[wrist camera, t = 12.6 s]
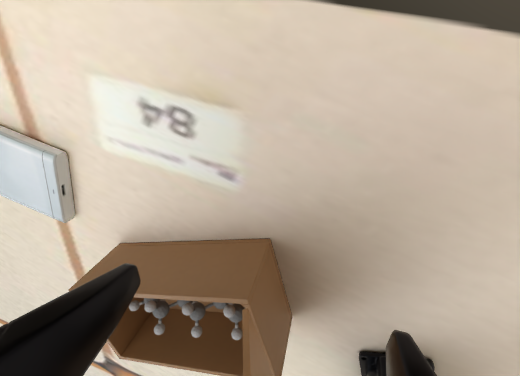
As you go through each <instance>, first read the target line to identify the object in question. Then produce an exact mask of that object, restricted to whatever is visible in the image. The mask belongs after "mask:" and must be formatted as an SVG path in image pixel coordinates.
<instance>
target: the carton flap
mask: <svg viewBox="0 0 520 376" xmlns="http://www.w3.org/2000/svg"><path fill="white" fill-rule="evenodd" d="M242 322H243V376H273V373H272V370H271V368H270V365H269V362H268V360H267V357H266V354H265V352H264V349H263V347H262V344H261V341H260V339H259V336H258V333H257V331H256V328H255V325H254V323H253V320H252V317H251V315H250V312H249V309H248V308H247V309H243V310H242Z"/></svg>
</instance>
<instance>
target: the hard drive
mask: <svg viewBox="0 0 520 376" xmlns="http://www.w3.org/2000/svg"><path fill="white" fill-rule="evenodd" d="M0 195H1V196H3V197H5V198H8V199H10V200H12V201H15V202H17V203H19V204H21V205H24V206H26V207H28V208H31V209H33V210H35V211H38V212H40V213H42V214H45V215H47V216H49V217H52V218H54V219H56V220H59V221H61V222H64V223H66V222H68V221H70V220H71V219H73V218H74V216H75V209H74V201H73V194H72V187H71V179H70V171H69V163H68V156H67V154H66V152H64V151H62V150H59V149H57V148H54V147H52V146H49V145H47V144H45V143H42V142H40V141H37V140H35V139H32V138H30V137H27V136H25V135H23V134H20V133H18V132H15V131H13V130H10V129H8V128H5V127H3V126H1V125H0Z"/></svg>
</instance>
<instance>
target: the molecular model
mask: <svg viewBox="0 0 520 376" xmlns="http://www.w3.org/2000/svg"><path fill="white" fill-rule="evenodd" d="M142 304H145V307H144V309H145V311H146V312H152V313H153V315H154V316H155V317H156V318H159V320H158V324H157V325H156V326H155V327H154V333H155V334H156V335H161V334H163V332H164V331H165V325H164V324H162V318H164V317H165V316H167V314H168V313H169V309H170V307H173V306H175V305H179V306H180V307H181V308H182V313H183V314H184V315H186V316H187V315H189V316H190V318H191V319H192V320H194V321H195V326H194V327H193V328H192V330H191V334H192V336H193V337H194V338H197V337H200V336H201V334H202V327H201V326H199V320H201V319H202V318H203V317H204V315H205V311H206V309H207V308H210V307H212V306H215V307H216V308H217V309H224V310H223V313H224V316H226V317H228V318H229V319H230V320H231V321H232V322H235V328H234V329H233V330H232V333H231V335H232V338H233V339H234V340H240V339H241V338H242V336H243V331H242V329H241V328H239V325H238V322H240V321H241V320H242V310H243V309H245V307H243V306H242V305H241V304H236V303H234V304H233V303H219V302H212V303H210V304H208V305H206V306H204V305H203V304H202V303H200V302H198V301H185V300H177V302H174V303H172V304H169V305H168V303H167V302H166V300H165V299H151V298H144V301H141V302H139V301H136V300H134V301H132V302H131V303H130V305H129V309H130V310H131V311H136V310H138V309H139V307H140V305H142Z"/></svg>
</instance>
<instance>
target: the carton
mask: <svg viewBox="0 0 520 376" xmlns="http://www.w3.org/2000/svg"><path fill="white" fill-rule="evenodd" d="M125 263H129V264H133V265H136V266H137V268H138V272H139V275H140V279H141V283H140V286H139V288H138V290H137V292H136V293H135V295H134V297H133V299H132V301H134V300H136V301H139V302H141V301H144V298H151V299H165V300H166V302H167V303H168V305H169V304H172V303H174V302H177V300H185V301H198V302H200V303H202V304H203V305H204V306H206V305H208V304H210V303H212V302H219V303H233V304H234V303H236V304H241V305H242V306H243V307H245V309H247V308H248V309H249V312H250V315H251V317H252V320H253V323H254V325H255V328H256V331H257V333H258V336H259V339H260V341H261V344H262V347H263V349H264V352H265V354H266V357H267V360H268V362H269V365H270V368H271V370H272V373H273V376H281V375H282V369H283V364H284V359H285V353H286V348H287V342H288V337H289V332H290V326H291V320H292V314H291V310H290V307H289V303H288V300H287V296H286V293H285V289H284V286H283V282H282V278H281V275H280V271H279V268H278V264H277V261H276V257H275V254H274V250H273V247H272V243H271V240H270V239H241V240H211V241H180V242H150V243H120V244H119V245H118V246H117V247H115V248H114V249H113V250H112V251H111V252H110V253H109V254H108V255H106V256H105V257H104V258H103V259H102V260H101V261H100V262H99V263H98V264H96V265H95V266H94V267H93V268H92V269H91V270H90V271H89V272H88V273H87V274H85V275H84V276H83V277H82V278H81V279H80V280H79V281H78V282H77V283H75V284H74V285H73V286H72V287H71V288H70V289H69V292H70V291H71V290H73V289H75V288H77V287H79V286H81V285H83V284H85V283H87V282H89V281H91V280H93V279H95V278H97V277H99V276H101V275H103V274H105V273H107V272H109V271H111V270H112V269H114V268H116V267H118V266H120V265H122V264H125ZM132 301H131V302H132ZM131 302H130V303H131ZM129 305H130V304H129ZM144 307H145V304H142V305H140V307H139V309H138V310H136V311H131V310H130V309H129V306H128V308H127V309H126V311H125V313H124V315H123V317H122V318H121V320H120V322H119V323H118V325H117V327H116V328H115V330H114V331H113V333H112V334H111V336H110V337H109V339H108V340H107V342H108V344H109V345H110V346H111V348H112V349H113V350H114V352H115V353H116V354H117V356H118V357H119V359H125V360H131V361H137V362H142V363H148V364H154V365H160V366H166V367H172V368H178V369H184V370H190V371H196V372H202V373H208V374H214V375H220V376H243V336H242V338H241V339H240V340H234V339H233V338H232V335H231V333H232V330H233V329H234V328H235V322H232V321H231V320H230V319H229V318H228V317H226V316H224V313H223V310H224V309H217V308H216V307H215V306H212V307H210V308H207V309H206V311H205V315H204V317H203V318H202V319H201V320H199V326H201V327H202V334H201V336H200V337H197V338H194V337H193V336H192V334H191V330H192V328H193V327H194V326H195V321H194V320H192V319H191V318H190V316H189V315H187V316H186V315H184V314H183V313H182V308H181V307H180V306H179V305H175V306H173V307H170V309H169V313H168V314H167V316H165V317H164V318H162V324H164V325H165V331H164V332H163V334H161V335H156V334H155V333H154V327H155V326H156V325H157V324H158V320H159V318H156V317H155V316H154V315H153V313H152V312H146V311H145V309H144ZM238 325H239V328H241V329H242V331H243V322H242V320H241V321H240V322H238Z"/></svg>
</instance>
